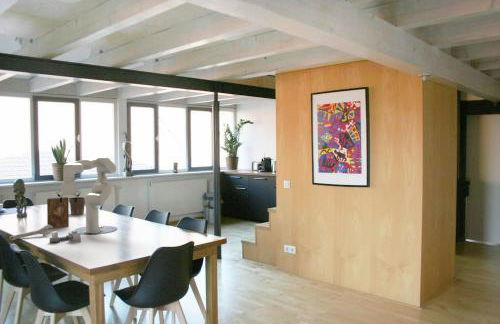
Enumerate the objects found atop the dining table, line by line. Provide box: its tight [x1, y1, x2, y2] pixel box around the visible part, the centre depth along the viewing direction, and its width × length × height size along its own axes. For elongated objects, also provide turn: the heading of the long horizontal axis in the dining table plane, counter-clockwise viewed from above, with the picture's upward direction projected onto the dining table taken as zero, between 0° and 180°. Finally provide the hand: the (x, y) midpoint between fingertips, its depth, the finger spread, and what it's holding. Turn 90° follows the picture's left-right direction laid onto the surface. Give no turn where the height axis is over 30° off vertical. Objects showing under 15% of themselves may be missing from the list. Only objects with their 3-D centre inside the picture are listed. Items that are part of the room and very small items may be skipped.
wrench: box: [9, 224, 54, 241], centre depth 321 cm, size 8×2×30 cm
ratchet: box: [49, 231, 68, 244], centre depth 311 cm, size 18×7×8 cm, turn 147°
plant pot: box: [68, 196, 86, 216], centre depth 425 cm, size 16×16×16 cm
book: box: [46, 196, 70, 229], centre depth 359 cm, size 16×6×25 cm, turn 129°
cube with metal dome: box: [67, 230, 82, 244], centre depth 309 cm, size 6×6×8 cm
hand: (68, 202), depth 313 cm, fingers open, 9 cm apart
